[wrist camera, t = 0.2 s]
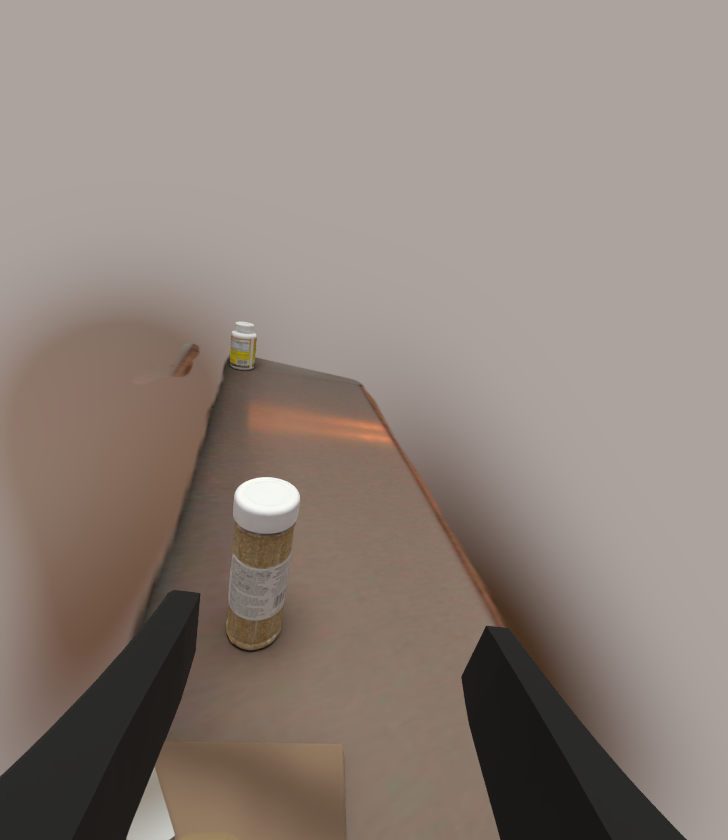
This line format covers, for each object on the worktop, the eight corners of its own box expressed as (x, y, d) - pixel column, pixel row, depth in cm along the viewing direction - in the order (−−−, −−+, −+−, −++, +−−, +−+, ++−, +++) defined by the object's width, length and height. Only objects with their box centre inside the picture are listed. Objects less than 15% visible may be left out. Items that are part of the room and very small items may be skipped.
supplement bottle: (244, 362, 99) (247, 320, 96) (259, 369, 97) (262, 326, 93) (224, 364, 95) (226, 320, 91) (239, 372, 92) (242, 327, 88)
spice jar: (253, 597, 37) (266, 468, 32) (292, 625, 35) (313, 492, 30) (212, 631, 33) (220, 491, 28) (254, 664, 31) (270, 520, 26)
